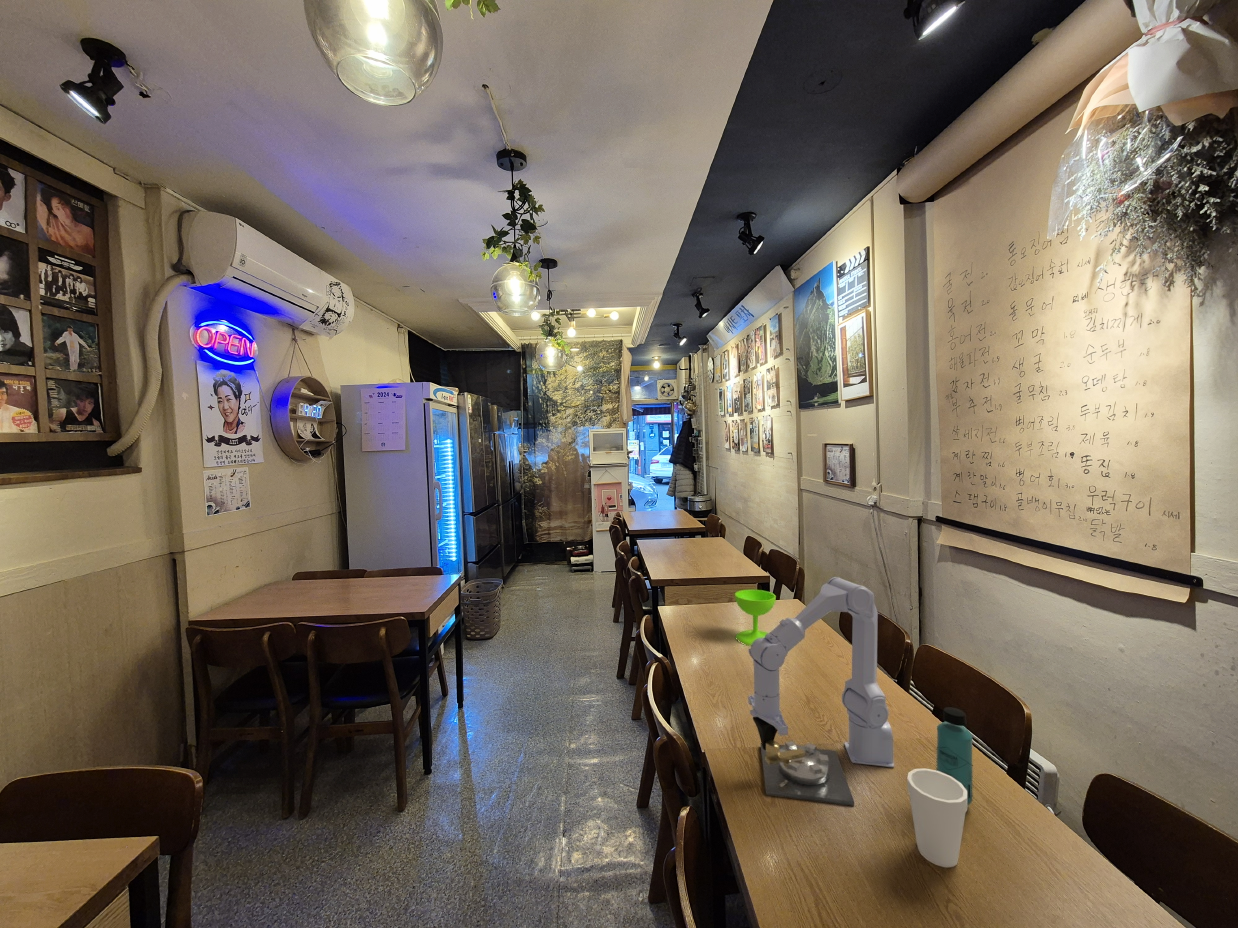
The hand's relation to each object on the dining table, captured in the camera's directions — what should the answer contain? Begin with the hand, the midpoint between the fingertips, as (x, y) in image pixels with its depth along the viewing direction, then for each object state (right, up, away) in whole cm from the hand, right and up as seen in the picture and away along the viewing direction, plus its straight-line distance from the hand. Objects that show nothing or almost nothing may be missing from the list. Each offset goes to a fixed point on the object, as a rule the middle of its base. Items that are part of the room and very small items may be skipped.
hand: (767, 748), depth 114 cm
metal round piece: (+6, -5, -1) cm, 8 cm away
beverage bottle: (+37, -6, -11) cm, 39 cm away
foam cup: (+25, -6, -23) cm, 35 cm away
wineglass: (+20, -4, +82) cm, 85 cm away
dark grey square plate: (+8, -6, 0) cm, 10 cm away
